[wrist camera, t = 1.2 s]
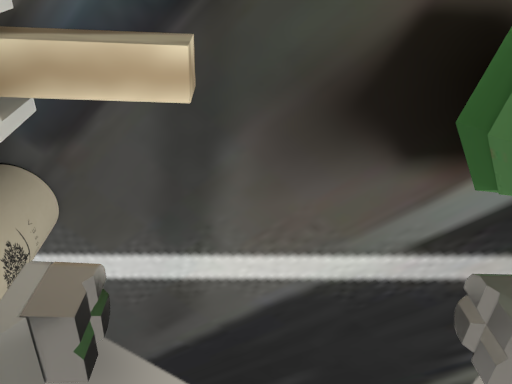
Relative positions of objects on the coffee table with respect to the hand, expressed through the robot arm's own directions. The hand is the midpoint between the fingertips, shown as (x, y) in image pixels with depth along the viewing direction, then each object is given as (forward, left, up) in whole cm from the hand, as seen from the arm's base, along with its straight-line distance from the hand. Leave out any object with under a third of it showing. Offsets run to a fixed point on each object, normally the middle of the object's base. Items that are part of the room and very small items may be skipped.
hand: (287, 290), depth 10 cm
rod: (+2, -14, -27) cm, 30 cm away
